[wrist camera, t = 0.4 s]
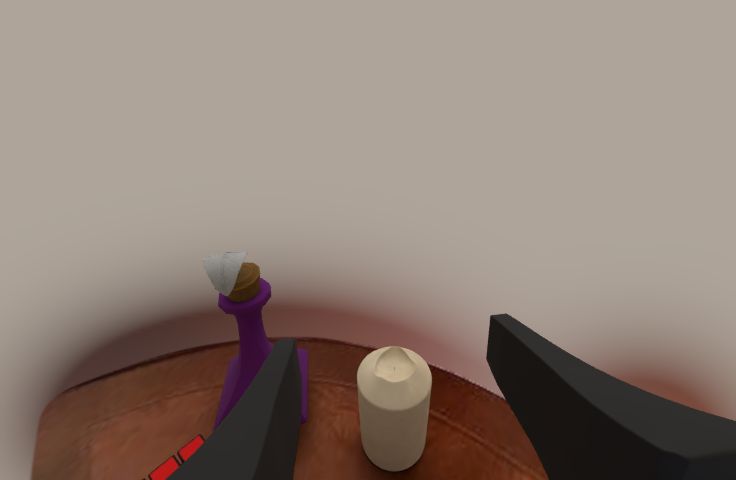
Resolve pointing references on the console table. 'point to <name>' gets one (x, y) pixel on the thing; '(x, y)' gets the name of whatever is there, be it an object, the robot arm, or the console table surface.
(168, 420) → the console table surface
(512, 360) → the robot arm
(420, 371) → the candle
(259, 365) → the perfume bottle
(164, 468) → the puzzle toy
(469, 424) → the console table surface
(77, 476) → the console table surface
